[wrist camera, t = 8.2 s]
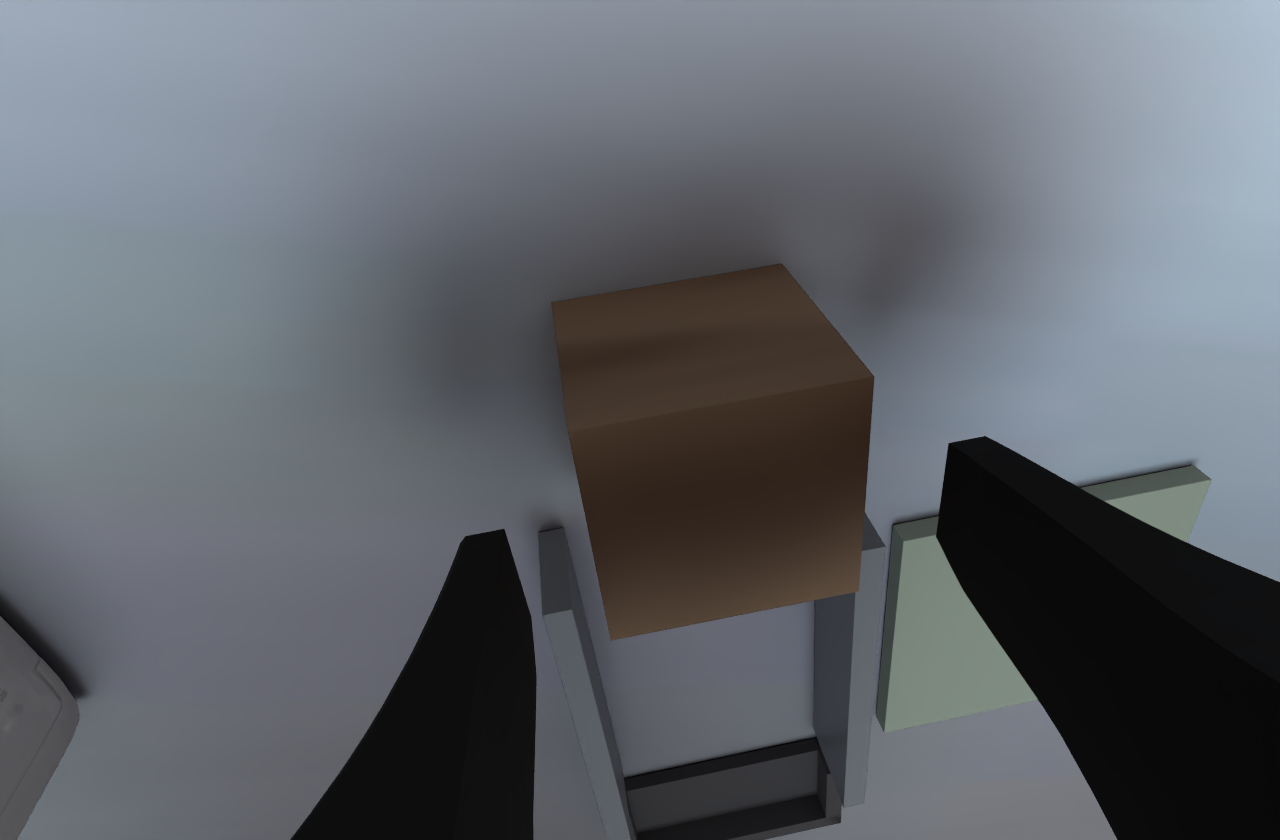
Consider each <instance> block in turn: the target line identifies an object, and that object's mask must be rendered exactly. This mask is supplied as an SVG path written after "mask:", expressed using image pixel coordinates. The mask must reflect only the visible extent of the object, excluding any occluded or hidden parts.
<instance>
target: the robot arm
mask: <svg viewBox="0 0 1280 840" xmlns="http://www.w3.org/2000/svg"><path fill="white" fill-rule="evenodd" d="M936 538H937V540H938V542H939V544H940V546H941V548H942V550H943V552H944V554H945V556H946V558H947V560H948V562H949V564H950V566H951V568H952V570H953V572H954V574H955V576H956V578H957V580H958V582H959V583H960V585H961V587H962V589H963V591H964V592H965V594H966V595H967V597H968V598H969V600H970V602H971V603H972V605H973V606H974V607H975V609H976V610H977V612H978V613H979V615H980V616H981V618H982V619H983V621H984V622H985V624H986V625H987V627H988V628H989V630H990V631H991V632H992V634H993V635H994V637H995V638H996V640H997V641H998V643H999V644H1000V645H1001V647H1002V648H1003V650H1004V651H1005V653H1006V654H1007V656H1008V657H1009V658H1010V660H1011V661H1012V663H1013V664H1014V666H1015V667H1016V669H1017V670H1018V671H1019V673H1020V674H1021V676H1022V677H1023V679H1024V680H1025V682H1026V683H1027V684H1028V686H1029V687H1030V689H1031V690H1032V692H1033V693H1034V695H1035V696H1036V697H1037V699H1038V700H1039V702H1040V703H1041V705H1042V706H1043V708H1044V709H1045V711H1046V712H1047V714H1048V715H1049V717H1050V719H1051V720H1052V722H1053V723H1054V725H1055V726H1056V728H1057V730H1058V731H1059V733H1060V734H1061V736H1062V738H1063V740H1064V741H1065V743H1066V745H1067V747H1068V749H1069V750H1070V752H1071V754H1072V756H1073V758H1074V759H1075V761H1076V763H1077V765H1078V767H1079V768H1080V770H1081V772H1082V774H1083V776H1084V777H1085V779H1086V781H1087V783H1088V785H1089V786H1090V788H1091V790H1092V792H1093V794H1094V796H1095V797H1096V799H1097V801H1098V803H1099V805H1100V807H1101V809H1102V811H1103V813H1104V815H1105V817H1106V818H1107V820H1108V822H1109V824H1110V826H1111V828H1112V830H1113V832H1114V834H1115V836H1116V838H1117V840H1280V582H1278V581H1275V580H1273V579H1270V578H1268V577H1265V576H1263V575H1261V574H1258V573H1256V572H1253V571H1251V570H1248V569H1246V568H1244V567H1241V566H1239V565H1236V564H1234V563H1232V562H1229V561H1227V560H1224V559H1222V558H1220V557H1217V556H1215V555H1213V554H1211V553H1208V552H1206V551H1204V550H1202V549H1199V548H1197V547H1195V546H1193V545H1191V544H1189V543H1187V542H1184V541H1182V540H1180V539H1178V538H1176V537H1174V536H1172V535H1170V534H1168V533H1166V532H1164V531H1162V530H1160V529H1158V528H1155V527H1153V526H1151V525H1149V524H1147V523H1145V522H1143V521H1141V520H1139V519H1137V518H1135V517H1134V516H1132V515H1130V514H1128V513H1126V512H1124V511H1122V510H1120V509H1118V508H1116V507H1114V506H1112V505H1110V504H1109V503H1107V502H1105V501H1103V500H1101V499H1099V498H1097V497H1096V496H1094V495H1092V494H1090V493H1088V492H1086V491H1084V490H1083V489H1081V488H1079V487H1077V486H1075V485H1074V484H1072V483H1070V482H1068V481H1066V480H1065V479H1063V478H1061V477H1059V476H1057V475H1056V474H1054V473H1052V472H1050V471H1048V470H1047V469H1045V468H1043V467H1041V466H1040V465H1038V464H1036V463H1034V462H1032V461H1031V460H1029V459H1027V458H1025V457H1023V456H1022V455H1020V454H1018V453H1016V452H1014V451H1013V450H1011V449H1009V448H1007V447H1005V446H1003V445H1001V444H1000V443H998V442H996V441H994V440H992V439H990V438H988V437H986V436H984V437H979V438H973V439H968V440H963V441H958V442H953V443H949V445H948V452H947V459H946V466H945V474H944V481H943V488H942V496H941V503H940V510H939V518H938V525H937V532H936ZM536 678H537V677H536V665H535V653H534V642H533V631H532V620H531V615H530V611H529V608H528V605H527V602H526V598H525V595H524V592H523V589H522V585H521V582H520V579H519V575H518V572H517V569H516V566H515V562H514V559H513V556H512V552H511V549H510V546H509V543H508V539H507V536H506V533H505V530H504V529H501V530H496V531H491V532H485V533H480V534H475V535H470V536H465V538H464V539H463V540H462V541H461V543H460V545H459V548H458V550H457V553H456V556H455V558H454V561H453V563H452V566H451V569H450V571H449V573H448V576H447V578H446V581H445V583H444V585H443V588H442V590H441V592H440V594H439V597H438V599H437V601H436V603H435V606H434V608H433V610H432V612H431V614H430V616H429V618H428V620H427V623H426V625H425V627H424V629H423V631H422V633H421V635H420V637H419V639H418V641H417V643H416V645H415V647H414V649H413V651H412V653H411V655H410V657H409V659H408V661H407V663H406V664H405V666H404V668H403V670H402V672H401V673H400V675H399V677H398V679H397V681H396V682H395V684H394V686H393V688H392V690H391V691H390V693H389V695H388V697H387V699H386V700H385V702H384V704H383V706H382V707H381V709H380V711H379V712H378V714H377V716H376V717H375V719H374V721H373V722H372V724H371V726H370V727H369V729H368V730H367V732H366V734H365V735H364V737H363V738H362V740H361V741H360V743H359V744H358V746H357V747H356V749H355V750H354V752H353V754H352V755H351V757H350V758H349V760H348V761H347V763H346V764H345V766H344V767H343V769H342V770H341V771H340V773H339V774H338V776H337V777H336V779H335V780H334V781H333V783H332V784H331V785H330V787H329V788H328V790H327V791H326V792H325V794H324V795H323V797H322V798H321V799H320V801H319V802H318V803H317V805H316V806H315V808H314V809H313V810H312V812H311V813H310V815H309V816H308V817H307V819H306V820H305V821H304V822H303V824H302V825H301V826H300V828H299V829H298V830H297V832H296V833H295V834H294V836H293V837H292V838H291V839H290V840H533V800H534V763H535V726H536Z"/></svg>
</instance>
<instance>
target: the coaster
mask: <svg viewBox="0 0 1280 840" xmlns="http://www.w3.org/2000/svg"><path fill="white" fill-rule="evenodd" d="M1211 480H1212V479H1210V478H1209V477H1208V476H1206V475H1205V474H1204V473H1203V472H1201V471H1200V470H1199V469H1198V468H1196V467H1195V466H1194V465H1193V466H1188V467H1183V468H1178V469H1173V470H1168V471H1163V472H1158V473H1153V474H1147V475H1142V476H1137V477H1132V478H1127V479H1122V480H1117V481H1112V482H1107V483H1102V484H1097V485H1092V486H1087V487H1082V488H1081V489H1083V490H1084V491H1086V492H1088V493H1090V494H1092V495H1094V496H1096V497H1097V498H1099V499H1101V500H1103V501H1105V502H1107V503H1109V504H1110V505H1112V506H1114V507H1116V508H1118V509H1120V510H1122V511H1124V512H1126V513H1128V514H1130V515H1132V516H1134V517H1135V518H1137V519H1139V520H1141V521H1143V522H1145V523H1147V524H1149V525H1151V526H1153V527H1155V528H1158V529H1160V530H1162V531H1164V532H1166V533H1168V534H1170V535H1172V536H1174V537H1176V538H1178V539H1180V540H1182V541H1184V542H1187V541H1188V539H1189V536H1190V534H1191V531H1192V529H1193V526H1194V523H1195V521H1196V518H1197V516H1198V513H1199V511H1200V508H1201V506H1202V503H1203V500H1204V498H1205V495H1206V493H1207V490H1208V488H1209V485H1210V483H1211ZM938 518H939V516H937V517H932V518H927V519H922V520H917V521H912V522H907V523H902V524H897V525H893V532H892V543H891V554H890V566H889V577H888V588H887V600H886V611H885V622H884V633H883V645H882V656H881V667H880V678H879V690H878V701H877V712H876V717H877V719H878V721H879V723H880V725H881V727H882V729H883V732H884V733H887V732H891V731H896V730H901V729H905V728H910V727H915V726H919V725H924V724H929V723H933V722H938V721H943V720H947V719H952V718H957V717H961V716H966V715H971V714H975V713H980V712H984V711H989V710H994V709H998V708H1003V707H1008V706H1012V705H1017V704H1022V703H1026V702H1031V701H1036V700H1038V699H1037V697H1036V696H1035V695H1034V693H1033V692H1032V690H1031V689H1030V687H1029V686H1028V684H1027V683H1026V682H1025V680H1024V679H1023V677H1022V676H1021V674H1020V673H1019V671H1018V670H1017V669H1016V667H1015V666H1014V664H1013V663H1012V661H1011V660H1010V658H1009V657H1008V656H1007V654H1006V653H1005V651H1004V650H1003V648H1002V647H1001V645H1000V644H999V643H998V641H997V640H996V638H995V637H994V635H993V634H992V632H991V631H990V630H989V628H988V627H987V625H986V624H985V622H984V621H983V619H982V618H981V616H980V615H979V613H978V612H977V610H976V609H975V607H974V606H973V605H972V603H971V602H970V600H969V598H968V597H967V595H966V594H965V592H964V591H963V589H962V587H961V585H960V583H959V582H958V580H957V578H956V576H955V574H954V572H953V570H952V568H951V566H950V564H949V562H948V560H947V558H946V556H945V554H944V552H943V550H942V548H941V546H940V544H939V542H938V540H937V538H936V532H937V525H938Z"/></svg>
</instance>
